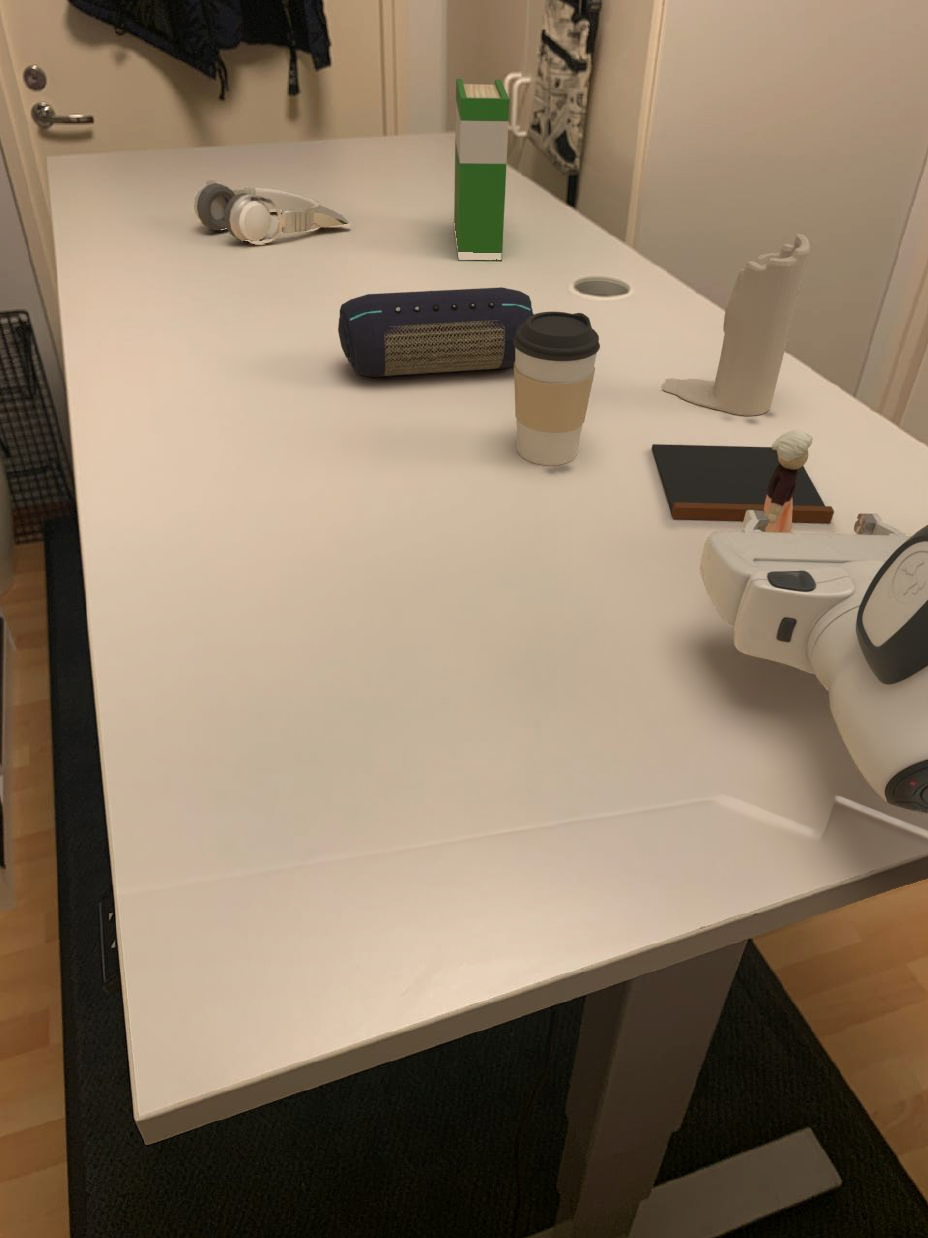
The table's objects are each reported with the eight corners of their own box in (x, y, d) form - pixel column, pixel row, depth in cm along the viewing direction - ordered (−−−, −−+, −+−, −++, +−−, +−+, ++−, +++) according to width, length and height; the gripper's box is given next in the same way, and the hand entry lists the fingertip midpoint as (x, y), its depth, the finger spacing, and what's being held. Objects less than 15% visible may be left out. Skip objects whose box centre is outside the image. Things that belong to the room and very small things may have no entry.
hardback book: (454, 229, 167) (456, 78, 151) (494, 229, 167) (500, 79, 152) (458, 260, 153) (460, 98, 138) (501, 260, 153) (509, 98, 138)
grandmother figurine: (790, 575, 85) (827, 454, 77) (748, 570, 85) (780, 449, 77) (782, 530, 91) (815, 413, 83) (743, 526, 91) (772, 409, 83)
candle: (672, 373, 119) (700, 212, 107) (777, 398, 114) (819, 232, 101) (652, 393, 114) (679, 227, 102) (761, 421, 109) (804, 249, 97)
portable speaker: (346, 392, 113) (341, 313, 107) (338, 359, 120) (333, 283, 114) (540, 379, 117) (547, 301, 111) (521, 348, 125) (526, 274, 118)
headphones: (252, 252, 152) (351, 242, 166) (251, 202, 148) (353, 196, 162) (178, 223, 163) (277, 216, 178) (175, 176, 159) (277, 173, 173)
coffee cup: (529, 476, 98) (540, 342, 88) (493, 439, 104) (499, 309, 95) (602, 461, 101) (619, 329, 91) (562, 425, 107) (575, 299, 98)
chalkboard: (791, 452, 103) (795, 441, 103) (830, 523, 92) (834, 511, 91) (651, 448, 103) (653, 437, 103) (673, 519, 92) (675, 507, 91)
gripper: (1023, 591, 64) (945, 489, 75) (733, 583, 64) (696, 482, 75) (988, 658, 68) (918, 552, 79) (715, 651, 68) (683, 546, 79)
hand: (808, 518), depth 77 cm, fingers open, 8 cm apart
